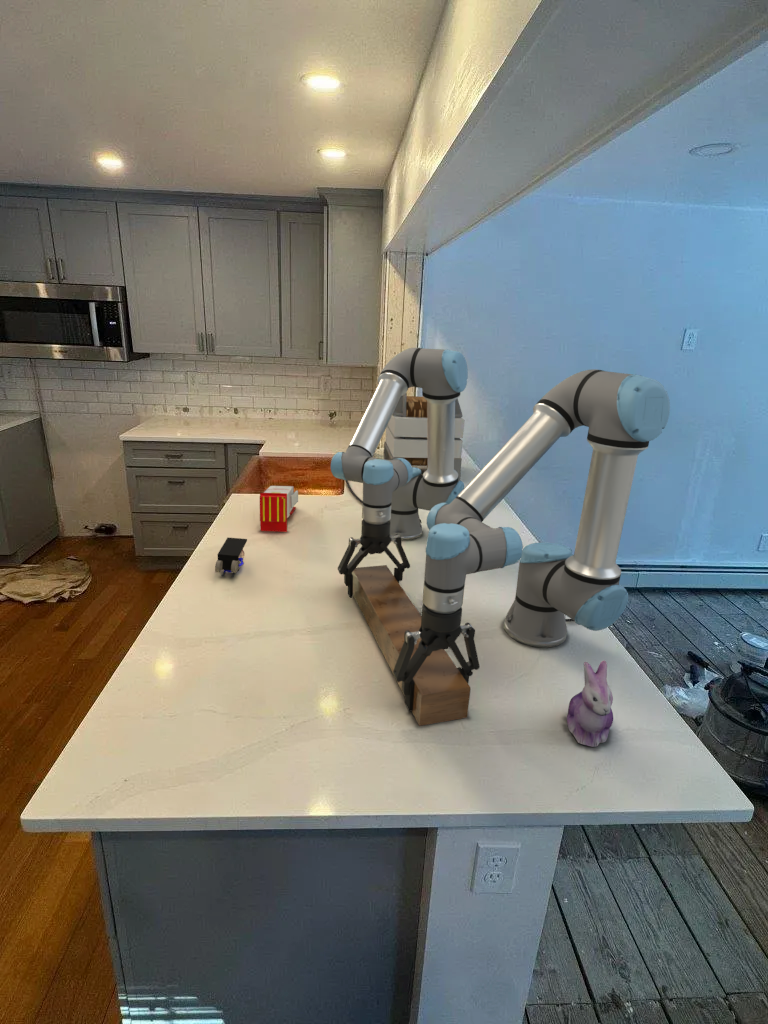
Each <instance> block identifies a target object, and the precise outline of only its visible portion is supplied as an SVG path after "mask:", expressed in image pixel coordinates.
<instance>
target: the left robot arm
mask: <svg viewBox="0 0 768 1024" xmlns="http://www.w3.org/2000/svg"><path fill="white" fill-rule="evenodd" d="M468 379H469V369H468V363H467V359H466V357H465V355H464V354H463V353H462V352H461V351H458V350H451V349H447V348H446V349H443V348H441V349H440V348H424V347H410V348H407V349H404V350H402V351H400V352H398V353H397V354H396V355H395V356H393V357H392V358H391V359H389V361H388V362H387V363H386V364H385V365H384V367H383V368H382V369H381V371H380V373H379V375H378V378H377V384H378V385H377V387H376V389H375V391H374V392H373V395H372V397H371V399H370V402H369V403H368V406H367V407H366V409H365V412H364V414H363V416H362V417H361V420H360V422H359V424H358V426H357V428H356V430H355V432H354V434H353V436H352V438H351V441H350V443H349V444H348V446H347V448H346V450H345V451H338V452H336V453H335V454H333V456H332V459H331V460H330V473H331V474H332V476H333V477H334V478H335V479H339V480H343V481H345V483H346V485H347V488H348V489H349V491H350V492H351V494H352V496H354V498H355V499H356V500H357V501H358V502H359V503H361V505H362V507H361V518H362V520H361V534H360V537H359V538H354V537H352V536H351V537H349V538H348V546H347V548H346V549H345V551H344V554H343V555H342V558H341V560H340V562H339V564H338V566H337V571H338V573H339V574H340V575H344V576H343V577H344V579H343V583H344V585H345V587H347V596H348V598H349V599H354V598H353V597H354V596H353V575H352V572H353V571H354V569H355V568H358V566H359V565H360V564H361V562H362V561H363V559H364V558H366V557H367V556H368V555H375V554H379V555H380V554H382V553H385V554H386V555H387V556H388V558H389V559H390V561H392V563H393V564H394V565H395V566H396V567H394V568H393V575H394V577H395V578H396V580H397V581H398V583H399V584H400V582H402V581H403V579H404V572H405V570H406V569H410V568H411V564H410V562H409V559H408V557H407V554H406V552H405V550H404V548H403V545H402V542H403V541H410V540H415V539H418V538H420V537H421V536H422V535H423V525H422V520H421V518H420V515H419V510H423V511H428V512H429V511H430V510H431V509H432V508H433V507H434V506H435V505H437V504H440V503H449V504H450V503H451V502H452V501H453V500H454V499H455V498H456V497H457V496H458V494H459V493H460V492H461V491H462V490H463V489H464V488H465V482H464V481H462V480H461V479H460V481H458V473H457V472H456V471H455V470H454V435H455V400H456V399H457V398H458V399H459V398H460V397H461V393H462V392H464V391H465V390H466V388H467V386H468V385H467V384H468ZM413 387H414V388H417V389H421V397H424V398H425V399H426V400H427V453H428V466H427V469H426V470H424V472H423V473H422V470H421V468H419V467H416V466H411V464H410V463H409V462H408V461H407V460H405V459H403V458H397V459H393V460H386V459H384V458H379V457H374V455H375V453H376V450H377V448H378V446H379V444H380V442H381V440H382V438H383V436H384V434H385V432H386V427H387V425H388V423H389V421H390V419H391V416H392V414H393V412H394V410H395V408H396V406H397V404H398V401H399V399H400V397H401V396H403V395H404V394H406V393H408V390H409V389H410V388H413ZM349 482H354V483H361V484H362V499H361V498H360V497H358V495H357V494H356V493H355V492H354V491H353V489H352V487H351V485H350V483H349ZM391 543H393V544H394V545H395V548H396V551H397V552H398V554H399V557H400V559H401V561H402V562H400V561H399V560H398V559H397V557H396V556H395V555H394V554H393V552H392V551H391V550H390V548H388V547H389V545H390V544H391ZM358 545H361V546H360V548H358V552H356V554H355V555H354V552H355V550H356V548H357V547H358ZM353 555H354V556H353Z"/></svg>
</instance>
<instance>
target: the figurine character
mask: <svg viewBox="0 0 768 1024" xmlns="http://www.w3.org/2000/svg"><path fill="white" fill-rule="evenodd" d="M247 542H248V538H240V537H226V539H225V541H224V543H223V544H222V546H221V547H220V549H219V551H218V552H217V560H216V562H215V564H214V572H215V573H221V577H222V578H224V577H225V576H226V574H227V573H230V574H231V573H232V574H231V578H234V577H235V575H236V573H237V572H239V571H240V567H242V566H243V565H244V564H245V562H244V558H245V551H244V547H245V546H246V544H247Z"/></svg>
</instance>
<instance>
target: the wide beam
mask: <svg viewBox="0 0 768 1024" xmlns="http://www.w3.org/2000/svg"><path fill="white" fill-rule="evenodd" d="M352 575H353V597H354V598H353V599H354V600H355V602H356V603H357V606H358V607H359V609H360V612H361V613H362V615H363V617H364V619H365V622H366V623H367V626H368V627H369V630H370V631H371V633H372V635H373V637H374V639H375V641H376V643H377V646H378V648H379V649H380V651H381V654H382V655H383V657H384V659H385V661H386V663H387V665H388V667H389V669H390V671H391V673H392V675H393V677H394V679H395V682H396V683H397V685H398V687H399V689H400V690H401V688H402V681H400V682H398V681H397V680H396V678H395V676H394V674H393V670H394V668H395V665H396V662H397V659H398V657H399V654H400V651H401V649H402V646H403V643H404V633H405V631H407V630H409V631H410V632H417V631H419V629H420V627H421V616H422V614H421V613H420V611H418V609H417V607H416V606H415V605H414V603H413V602H412V600H411V599H410V597H409V596H408V594H407V593H406V591H405V590H404V588H403V587H402V585H401V584H400V582H399V583H398V581H397V580H396V578H395V577H394V573H392V570H390V568H389V566H388V565H387V564H381V565H372V566H370V565H369V566H360V567H358V566H357V567H356V568H355V569H354V571H353V572H352ZM421 640H422V639H421V638H419V639H418V640H417V644H416V645H414V650H413V653H412V656H413V655H414V653H415V651H416V650H417V648H418V645H419V643H420V641H421ZM426 647H427V645H426ZM412 656H411V658H412ZM411 658H410V659H411ZM457 668H458V667H457V665H456V664H455V662H454V661H453V660H452V658H451V657H450V656H449V654H448V653H447V650H446V649H440V650H437V651H432V653H431V654H430V656H427V658H426V659H425V661H424V662H423V664H422V665H421V667H420V668H419V670H418V671H417V673H416V674H415V676H414V677H413V681H414V683H415V687H414V701H413V711H411V712H412V714H413V716H414V718H415V720H416V723H417V724H418V726H419V727H422V726H428V725H433V724H438V723H439V724H440V723H445V722H451V721H456V720H460V719H467V718H468V715H469V714H468V713H469V704H470V696H471V686H470V685H469V683H467V682H466V680H465V679H464V677H463V676H462V674H461V673H460V671H459V670H458V669H457ZM401 692H402V690H401ZM402 695H403V697H404V698H405V696H404V694H403V692H402Z"/></svg>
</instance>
